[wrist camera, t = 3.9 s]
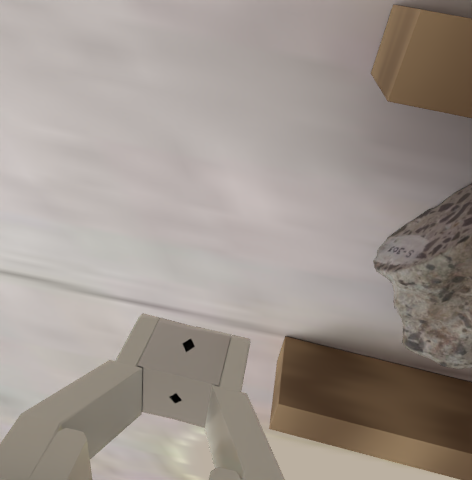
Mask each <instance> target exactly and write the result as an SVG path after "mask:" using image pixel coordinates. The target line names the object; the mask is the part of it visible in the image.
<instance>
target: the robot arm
mask: <svg viewBox="0 0 472 480" xmlns="http://www.w3.org/2000/svg"><path fill="white" fill-rule="evenodd" d="M231 335H232V334H227V333H223V332H218V331H214V330H209V329H205V328H200V327H194V326H190V325H186V324H182V323H179V322H175V321H171V320H167V319H164V318H159V317H155V316H151V315H147V314H142V315H141V316H140V317H139V318H138V320H137V322H136V323H135V325H134V327H133V329H132V331H131V333H130V335H129V336H128V338H127V340H126V342H125V344H124V346H123V348H122V349H121V351H120V353H119V355H118V357H117V359H116V361H113V360H109V361H107V362H106V363H104V364H102V365H101V366H99V367H97V368H96V369H94V370H92V371H91V372H89V373H87V374H86V375H84V376H83V377H81V378H79V379H78V380H76V381H74V382H73V383H71V384H69V385H68V386H66V387H64V388H63V389H61V390H60V391H58V392H56V393H55V394H53V395H51V396H50V397H48V398H46V399H45V400H43V401H41V402H40V403H38V404H37V405H35V406H33V407H32V408H30V409H28V410H27V411H25V412H23V413H22V414H21V415H20V416H19V418H18V419H17V421H16V422H15V423H14V425H13V426H12V428H11V429H10V431H9V432H8V434H7V435H6V436H5V438H4V439H3V441H2V442H1V444H0V480H92V473H91V466H90V459H91V458H92V457H93V456H94V455H96V454H97V453H98V452H99V451H100V450H101V449H102V448H103V447H105V446H106V445H107V444H108V443H109V442H110V441H111V440H113V439H114V438H115V437H116V436H117V435H118V434H119V433H121V432H122V431H123V430H124V429H125V428H126V427H127V426H128V425H130V424H131V423H132V422H133V421H134V420H135V419H136V418H138V417H139V416H140V415H141V412H145V413H149V414H154V415H158V416H163V417H167V418H172V419H175V420H179V421H182V422H186V423H190V424H193V425H197V426H200V427H204V428H205V433H206V437H207V440H208V444H209V448H210V451H211V455H212V459H213V462H214V466H215V469H214V470H212V471H211V473H210V477H209V480H285V479H284V477H283V474H282V472H281V470H280V468H279V465H278V463H277V461H276V459H275V457H274V454H273V452H272V450H271V447H270V445H269V443H268V441H267V438H266V436H265V434H264V432H263V429H262V427H261V425H260V423H259V420H258V418H257V416H256V414H255V411H254V409H253V407H252V405H251V402H250V400H249V398H248V395H247V394H246V393H243V392H241V390H242V384H243V379H244V374H245V368H246V363H247V358H248V352H249V347H250V339H248V338H243V337H239V336H235V335H232V336H231Z"/></svg>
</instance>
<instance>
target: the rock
mask: <svg viewBox="0 0 472 480" xmlns="http://www.w3.org/2000/svg"><path fill="white" fill-rule="evenodd" d="M373 262H374V265H375V269H376V271H377V272H378V273H380V274H381V275H383V276H384V277H386V278H387V279H389V280H390V282H391V283H392V284H393V290H394V308H395V309H396V310H397V312H398V313H399V315H400V316H401V318H402V322H403V325H404V326H403V340H402V343H403V344H404V346H405V347H406V348H407V349H409V350H411V351H412V352H414V353H416V354H418V355H421V356H423V357H425V358H430V359H432V360H433V361H435V362H437V363H438V364H440V365H442V366H445V367H450V368H455V369H462V368H472V184H471V185H469V186H467V187H465V188H463V189H462V190H460V191H458V192H456V193H455V194H453V195H452V196H450V197H449V198H448V199H446V200H445V201H444V202H443V203H442V204H441V205H439V206H437V207H436V208H434V209H429V210H427V211H426V212H424V213H423V214H421V215H420V216H419V217H417V218H416V219H415V220H414V221H412V222H410V223H408V224H406V225H405V226H403V227H402V228H401V229H399V230H398V231H397V232H395V233H394V234H392V235H391V236H390V237H388V238H387V240H386V241H385V242H384V243H383V244H382V246H381V247H380V248H379V249H378V251H377V257H376V258H375V260H374V261H373Z"/></svg>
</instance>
